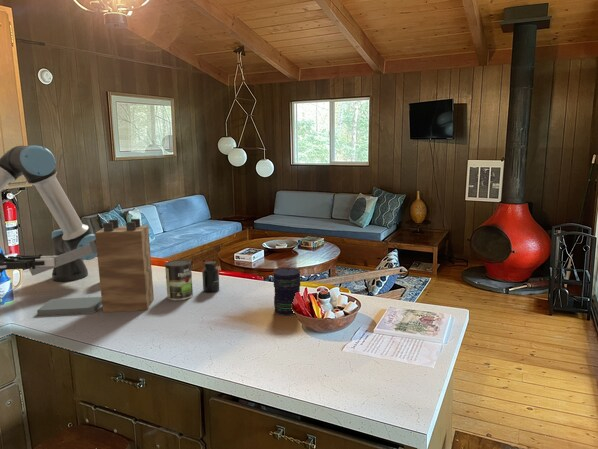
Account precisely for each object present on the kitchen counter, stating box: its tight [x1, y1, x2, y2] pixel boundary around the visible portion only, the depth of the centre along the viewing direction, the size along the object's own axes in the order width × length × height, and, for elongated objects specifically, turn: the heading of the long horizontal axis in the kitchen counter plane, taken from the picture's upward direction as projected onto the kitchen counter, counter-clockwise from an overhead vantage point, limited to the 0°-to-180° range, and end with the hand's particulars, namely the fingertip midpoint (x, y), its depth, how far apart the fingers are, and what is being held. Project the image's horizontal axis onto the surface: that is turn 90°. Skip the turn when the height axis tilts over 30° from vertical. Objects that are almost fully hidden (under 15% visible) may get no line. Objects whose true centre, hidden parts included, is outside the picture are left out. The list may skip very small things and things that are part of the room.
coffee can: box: [164, 259, 194, 301], centre depth 185 cm, size 10×10×14 cm
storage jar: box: [272, 267, 301, 317], centre depth 168 cm, size 10×10×15 cm
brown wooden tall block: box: [94, 218, 155, 313], centre depth 174 cm, size 12×16×33 cm
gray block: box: [36, 296, 102, 316], centre depth 175 cm, size 12×20×2 cm, turn 96°
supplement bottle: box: [201, 260, 220, 293], centre depth 193 cm, size 7×7×12 cm
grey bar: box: [28, 239, 97, 277], centre depth 171 cm, size 5×26×4 cm, turn 96°
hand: (56, 260), depth 171 cm, fingers closed on grey bar, 3 cm apart
